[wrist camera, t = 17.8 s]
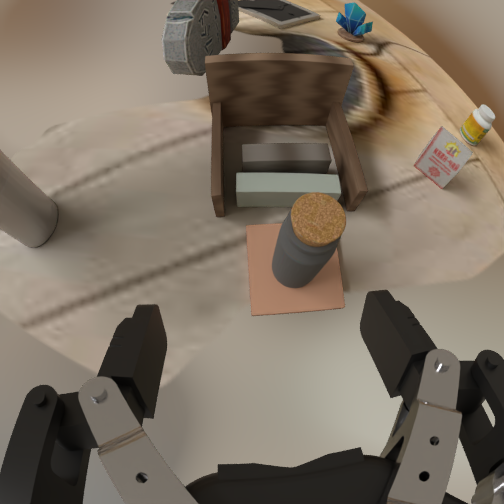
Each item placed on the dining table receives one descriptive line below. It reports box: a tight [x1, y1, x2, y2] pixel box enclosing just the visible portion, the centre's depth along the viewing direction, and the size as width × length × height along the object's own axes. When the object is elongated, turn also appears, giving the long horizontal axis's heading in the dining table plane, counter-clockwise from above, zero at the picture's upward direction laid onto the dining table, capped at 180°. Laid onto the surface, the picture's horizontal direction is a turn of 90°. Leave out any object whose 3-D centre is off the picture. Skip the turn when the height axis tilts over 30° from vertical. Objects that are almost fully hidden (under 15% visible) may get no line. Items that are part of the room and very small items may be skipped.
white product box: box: [414, 126, 473, 189], centre depth 40 cm, size 4×7×10 cm, turn 50°
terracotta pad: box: [246, 223, 345, 316], centre depth 39 cm, size 12×12×1 cm
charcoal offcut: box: [242, 143, 332, 174], centre depth 41 cm, size 12×3×6 cm, turn 93°
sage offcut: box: [236, 173, 341, 207], centre depth 40 cm, size 14×3×4 cm, turn 90°
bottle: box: [272, 192, 346, 288], centre depth 31 cm, size 6×6×15 cm
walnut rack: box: [205, 53, 368, 217], centre depth 38 cm, size 21×19×14 cm
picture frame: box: [238, 0, 320, 29], centre depth 63 cm, size 16×3×21 cm
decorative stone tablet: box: [162, 0, 239, 76], centre depth 46 cm, size 19×6×30 cm
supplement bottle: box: [460, 105, 495, 145], centre depth 44 cm, size 5×5×10 cm
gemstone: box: [336, 3, 373, 42], centre depth 54 cm, size 7×9×12 cm
